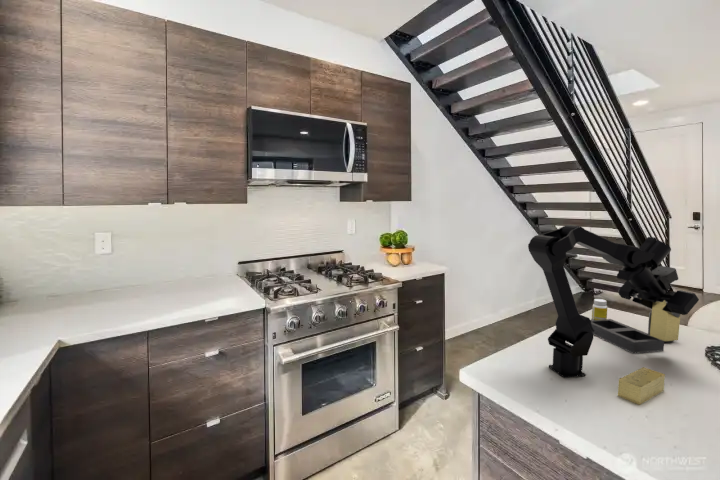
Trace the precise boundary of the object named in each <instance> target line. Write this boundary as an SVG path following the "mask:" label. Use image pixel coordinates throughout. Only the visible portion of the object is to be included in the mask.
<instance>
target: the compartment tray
mask: <svg viewBox="0 0 720 480" xmlns="http://www.w3.org/2000/svg"><path fill="white" fill-rule="evenodd" d="M590 320H591V325H592V328H593V329H594V332H593V336H595V337H597V338H600V340H601V339H602V340H603V341H604V340H605V341H606V342H608V343H610V344H612V345H614V346H617V347H618V348H621V349H623V350H625V351H627V352H628V353H631V354H643V353H645V354H646V353H655V352H664V349H665V347H664V346H665V343H664V341H663V340H660V339H658V338H655V337H652V336H650V334H648V332H644V331H642V330H640V329H637V328H636V327H635V328H634V327H632V326H630V325H627V324H624V323H622V322H620V321H617V320H614V319H611V318H607V319H603V320H592V319H590Z"/></svg>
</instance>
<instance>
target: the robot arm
mask: <svg viewBox="0 0 720 480" xmlns="http://www.w3.org/2000/svg"><path fill="white" fill-rule="evenodd" d="M576 245H579V246H581V247H583V248H585V249H588V250H590V251H593V252H595V253H597V254H599V255H601V257H602V259H603V260H605V261H606V262H607V263H609V264H610V265H615V266H620V267H621V266H622V268H620V269H618V273H617V274H616V279H618V280H622V281H625V282H624V283H623V284H622V285H621V286H620V288H619V289H618V295H619V297H621V299H625V300H629V301H630V300H632V302H634V303H636V304H639V305H640V306H643V307H645V308H648V309H650V310H652V304H653V302H656V301H658V302H663V301H664V300H665V302H666V305H665V307H664V308H663V309H662V310H664V311H665V312H667V313H669V314H671V315H673V316H675V317H677V318H679V317H680V318H681V316H686V315H688V314H689V313H690V312H691V311H692V309H693V308H694V307H695V305H696V304H697V303H699V300H700V298H699V297H698V296H697V294H696V293H694V292H690V291H688V290H687V291H686V290H682V289H681V290H680V289H678V290H677V291H670V292H668V291H669V290H670V288H671V286H670V284H672V283H673V282H675V281H678V280H679V276H678V272H677V269H676V268H675V267H672V266H671V267H670V266H664V265H661V266H659V265H660V264H661V263H662V262H663V261H664V260H665V258H666V257H667V256H668V255H669V254H670V252H671V251H672V248H671V246H670V245H668V244H667V243H665V242H663V241H661V240H659V239H657V238H656V237H654V236H648V237H646V238H645V241H644V242H643V243H642V244H641V245H640V247H638V246H634V245H628V244H622V243H619V242H614V241H611V240H609V239H607V238H605V237H603V236H600V235H598V234H596V233H594V232H592V231H589V230H587V229H585V228H584V227H582V226H580V225H572V224H571V225H570V224H566V225H563V226H561V227H559V228H556V229H554V230H551V231H547V232H544V233H542V234H537V235H534V236H533V237H532V238H531V239H530V240H529V243H528V246H527V247H528V251H529V254H530V255H531V257H532V259H533V260H534V262H535V263H536V264H537V265H538V267H540V268H541V269H542V271H543V275H544V276H545V280H546V283H547V286H548V289H549V292H550V295H551V299H552V301H553V303H554V307H555V310H556V314H557V317H556V320H555V330H553V332H551V334H550V335H549V336H548V337H547V341H548V344H549V346H552V347H553V351H552V352H553V353H552V364H549V365H548V368H550V370H552V371H553V372H555V373H556V374H558V375H559V376H561V377H562V378H575V377H585V376H586V373H585V372H584V371H583V363H584V361H583V360H584V356H586V357H587V356H588V355H589V352H590V350H591V346H592V343H593V340H594V335H593V332H594V329H593V328H592V325H591V320H592V319H590V317H588V316H585V315H583V314H580V313H579V310H578V307H577V303H576V301H575V298H574V295H573V292H572V289H571V285H570V282H569V278H568V276H567V272H566V270H565V263H566V260H567V253H568V252H569V251H572V250H573V249H574V247H575V246H576Z"/></svg>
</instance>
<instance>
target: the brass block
mask: <svg viewBox="0 0 720 480" xmlns="http://www.w3.org/2000/svg"><path fill="white" fill-rule="evenodd" d="M665 305H666V302H665V300H664V301H663V302H658V301H656V302H653V304H652V309H651V311H652V316H651V328H650V336H652V337H655V338H658V339H660V340H663V341H674V342H675V341H679V335H680V324H681V323H680V322H681V316H680V317H679V318H677V317H675V316H673V315H671V314H669V313H667V312H665V311H664V310H662V309H663V308H664V307H665Z"/></svg>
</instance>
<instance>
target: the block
mask: <svg viewBox="0 0 720 480" xmlns="http://www.w3.org/2000/svg"><path fill="white" fill-rule="evenodd" d="M665 377H666V374H665V373H662V372H659V371H656V370H653V369H650V368H647V367H646V366H643V367H641V368H638V369H637V370H635V371H632V372H631V373H628V374H626V375H625V376H622V377H620V378H619V379H618V386H617V389H618V391H617V397H619V398H621V399H625V400H627V401H628V402H632V403H634V404H635V405H636V404H637V405H638V406H640V405H642V404H644V403H645V402H647V401H649V400H650V399H653V398H654V397H656V396H657V395H660V394H661V393H662V392H664V391H665V379H666V378H665Z"/></svg>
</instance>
